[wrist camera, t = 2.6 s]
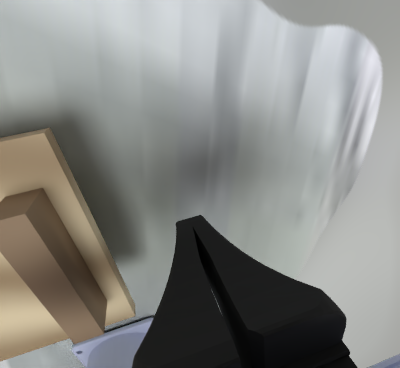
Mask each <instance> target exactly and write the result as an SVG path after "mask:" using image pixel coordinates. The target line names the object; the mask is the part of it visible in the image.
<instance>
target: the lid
mask: <svg viewBox="0 0 400 368" xmlns="http://www.w3.org/2000/svg"><path fill="white" fill-rule="evenodd" d="M134 316H135V304H134V302H133V299H132V297H131V295H130V293H129V291H128V289H127V287H126V285H125V283H124V281H123V279H122V277H121V274H120V272H119V270H118V268H117V266H116V264H115V262H114V260H113V258H112V256H111V254H110V252H109V249H108V247H107V245H106V243H105V241H104V239H103V237H102V235H101V233H100V231H99V229H98V227H97V224H96V222H95V220H94V218H93V216H92V214H91V212H90V210H89V208H88V206H87V204H86V202H85V199H84V197H83V195H82V193H81V191H80V189H79V187H78V185H77V183H76V181H75V179H74V177H73V174H72V172H71V170H70V168H69V166H68V164H67V162H66V160H65V158H64V156H63V154H62V151H61V149H60V147H59V145H58V143H57V141H56V139H55V137H54V135H53V133H52V131H51V129H50V128H46V129H41V130H36V131H31V132H27V133H22V134H17V135H12V136H7V137H3V138H0V361H3V360H6V359H9V358H12V357H15V356H18V355H21V354H24V353H27V352H30V351H33V350H36V349H39V348H42V347H45V346H48V345H51V344H54V343H57V342H60V341H63V340H66V339H68V338H70V339H71V340H72V342H73V343H74V344H77V343H80V342H83V341H86V340H89V339H91V338H94V337H97V336H100V335H103V334H104V330H105V326H107V325H110V324H113V323H116V322H119V321H122V320H125V319H128V318H131V317H134Z"/></svg>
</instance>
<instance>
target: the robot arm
mask: <svg viewBox="0 0 400 368" xmlns="http://www.w3.org/2000/svg"><path fill="white" fill-rule="evenodd" d="M211 289H212V290H211ZM212 291H213V292H212ZM213 294H214V295H213ZM214 296H215V297H214ZM215 298H216V299H215ZM216 300H217V302H216ZM217 303H218V304H217ZM218 305H219V307H218ZM219 308H220V309H219ZM220 310H221V312H220ZM221 313H222V314H221ZM345 328H346V317H345V315H344V313H343V312H342V311H341V310H340V308H339V307H338V306H337V305H336V304H335V303H334V302H333V301H332V300H331V298H329V297H328V296H327V295H326V294H325V293H324V292H323V291H322V290H321V289H318V288H316V287H313V286H310V285H308V284H305V283H302V282H300V281H297V280H294V279H292V278H290V277H287V276H285V275H283V274H281V273H279V272H277V271H275V270H273V269H271V268H269V267H267V266H265V265H263V264H262V263H260V262H258V261H256V260H255V259H253V258H251V257H250V256H248V255H247V254H245V253H244V252H242V251H241V250H240V249H238V248H237V247H235V246H234V245H233V244H232V243H230V242H229V241H228V240H227V239H225V238H224V237H223V236H222V235H221V234H220V233H219V232H217V231H216V230H215V229H214V228H213V227H212V226H211V225H210V224H209V223H208V222H207V221H206V219H205V218H204V217H203V216H202V215H199V216H195V217H192V218H188V219H185V220H181V221H178V222H177V223H176V245H175V253H174V258H173V263H172V267H171V271H170V275H169V279H168V282H167V285H166V288H165V291H164V294H163V297H162V299H161V302H160V305H159V307H158V309H157V312H156V314H155V316H154V318H148V319H145V320H142V321H139V322H136V323H133V324H130V325H127V326H124V327H121V328H118V329H116V330H113V331H110V332H107V333H104V334H103V335H100V336H97V337H94V338H91V339H89V340H86V341H83V342H80V343H77V344H73V346H72V352H73V353H74V354H75V355H76V357H77V358H78V359H79V360H80V361H81V363H82V364H83V365H84V366H85V367H86V368H357V366H356V365H355V364H354V362H353V361H352V359H351V358H350V357H349V355H350V351H349V349H348V348H347V347H346V345H345V344H344V343H343V341H342V338H343V334H344V331H345ZM368 368H400V354H398V355H396V356H393V357H391V358H389V359H386V360H384V361H382V362H380V363H377V364H375V365H373V366H370V367H368Z"/></svg>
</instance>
